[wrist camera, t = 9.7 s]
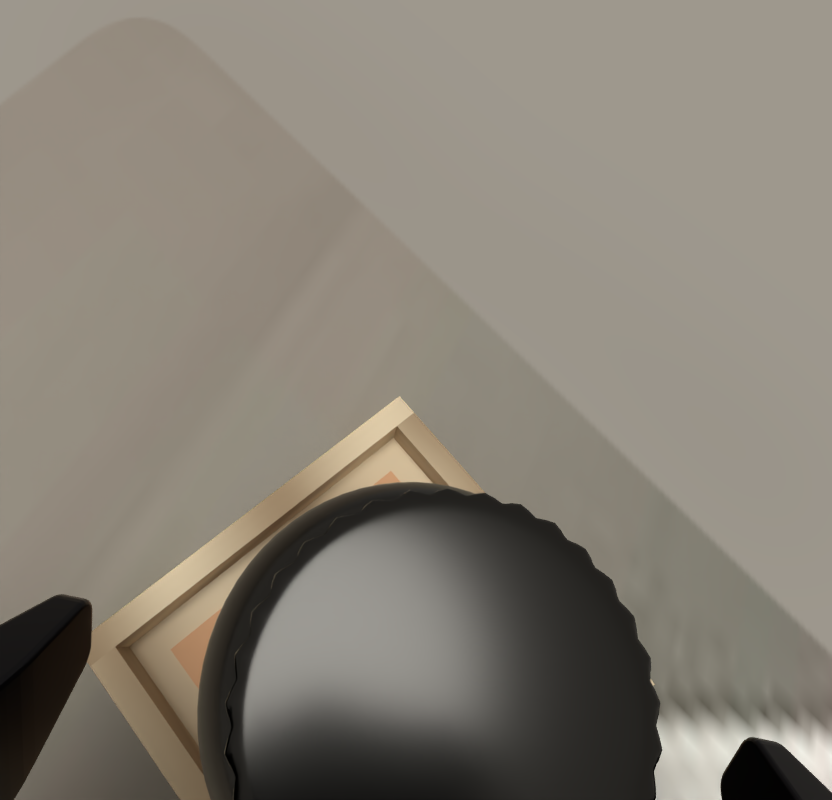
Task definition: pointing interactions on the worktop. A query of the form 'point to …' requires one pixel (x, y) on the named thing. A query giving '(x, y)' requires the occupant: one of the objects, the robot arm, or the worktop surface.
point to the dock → (217, 574)
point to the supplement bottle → (425, 661)
